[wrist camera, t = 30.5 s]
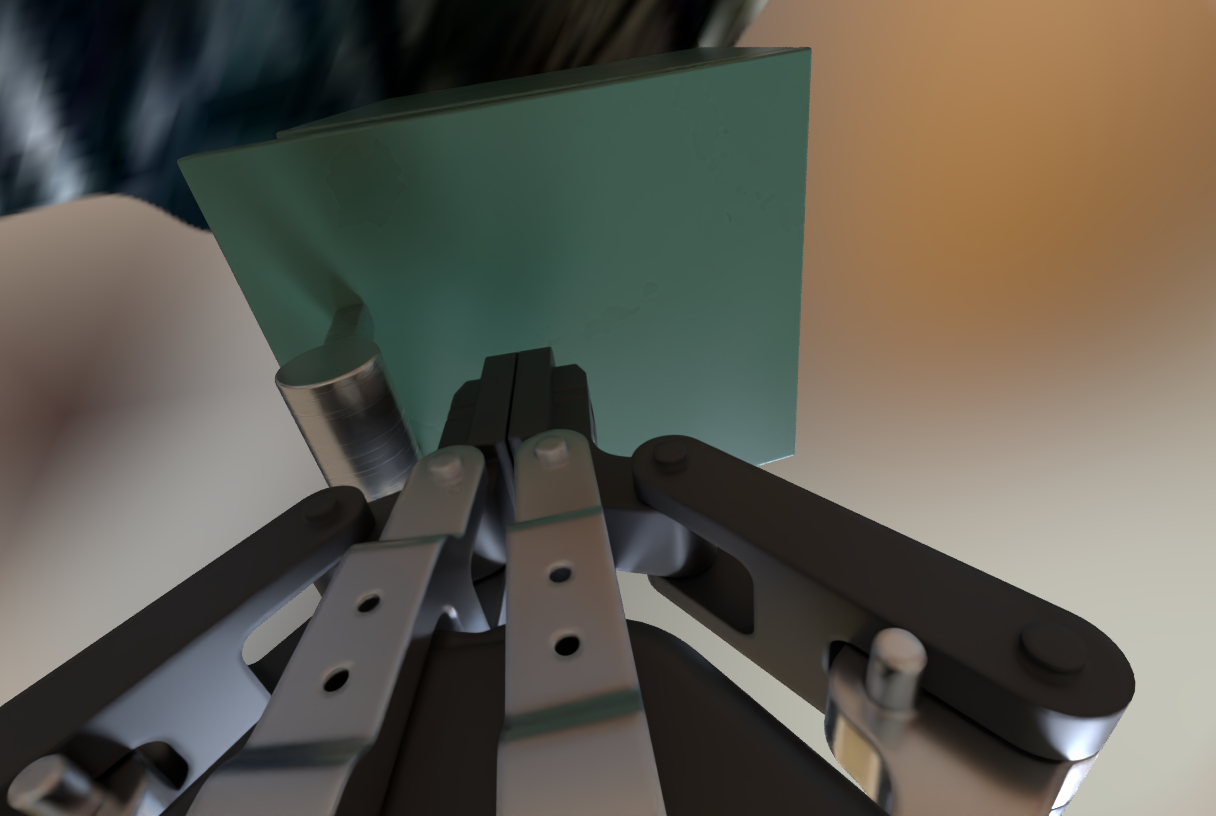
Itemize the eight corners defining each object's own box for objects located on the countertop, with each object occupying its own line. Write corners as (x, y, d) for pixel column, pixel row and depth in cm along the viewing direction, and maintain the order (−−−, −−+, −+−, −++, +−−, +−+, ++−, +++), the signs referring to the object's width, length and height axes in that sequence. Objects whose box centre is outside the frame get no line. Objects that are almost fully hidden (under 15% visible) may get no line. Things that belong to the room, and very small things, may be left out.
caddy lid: (386, 558, 18) (374, 707, 14) (188, 154, 12) (55, 202, 7) (783, 442, 20) (878, 542, 16) (794, 47, 14) (956, 37, 9)
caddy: (465, 356, 29) (423, 497, 20) (387, 98, 23) (273, 133, 14) (713, 317, 29) (784, 441, 20) (701, 47, 23) (796, 47, 14)
